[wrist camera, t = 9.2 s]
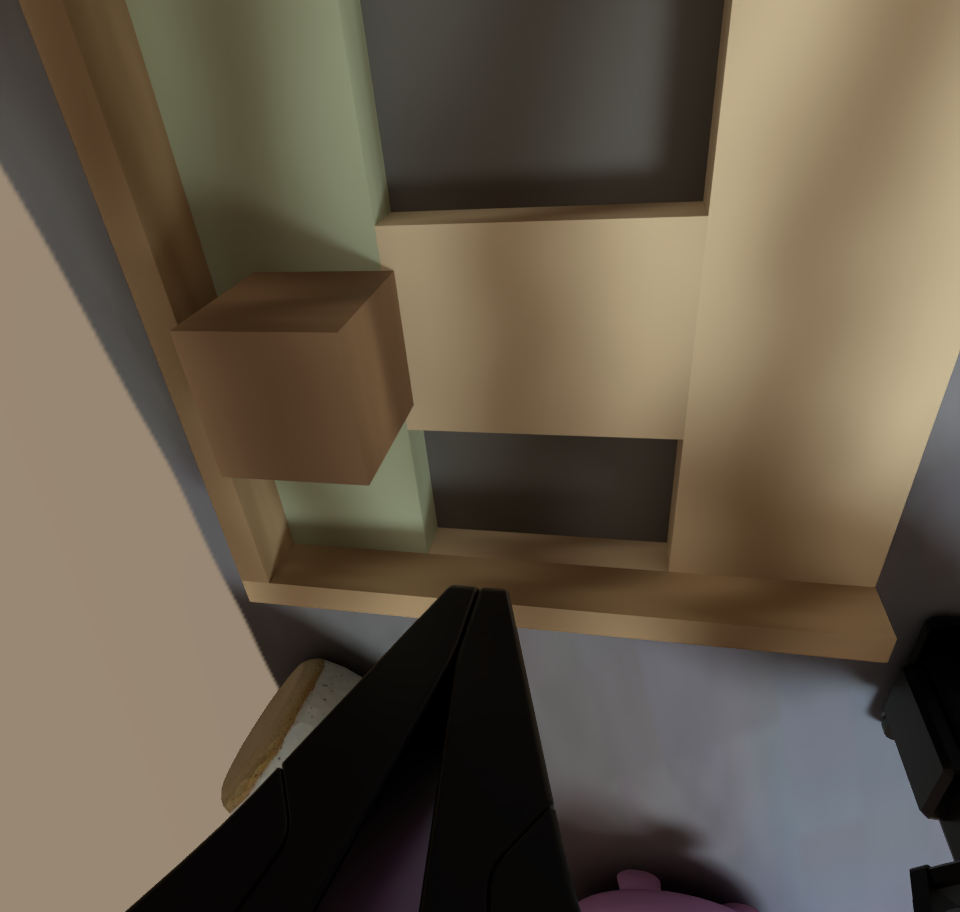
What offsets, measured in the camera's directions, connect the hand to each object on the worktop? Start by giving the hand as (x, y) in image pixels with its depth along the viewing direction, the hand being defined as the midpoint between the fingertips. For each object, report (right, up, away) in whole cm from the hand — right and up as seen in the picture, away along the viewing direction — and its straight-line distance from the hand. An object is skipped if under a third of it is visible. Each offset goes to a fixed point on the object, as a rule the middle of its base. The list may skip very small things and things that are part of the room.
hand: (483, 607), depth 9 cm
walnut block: (-4, +5, +9) cm, 11 cm away
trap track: (+2, +6, +9) cm, 12 cm away
